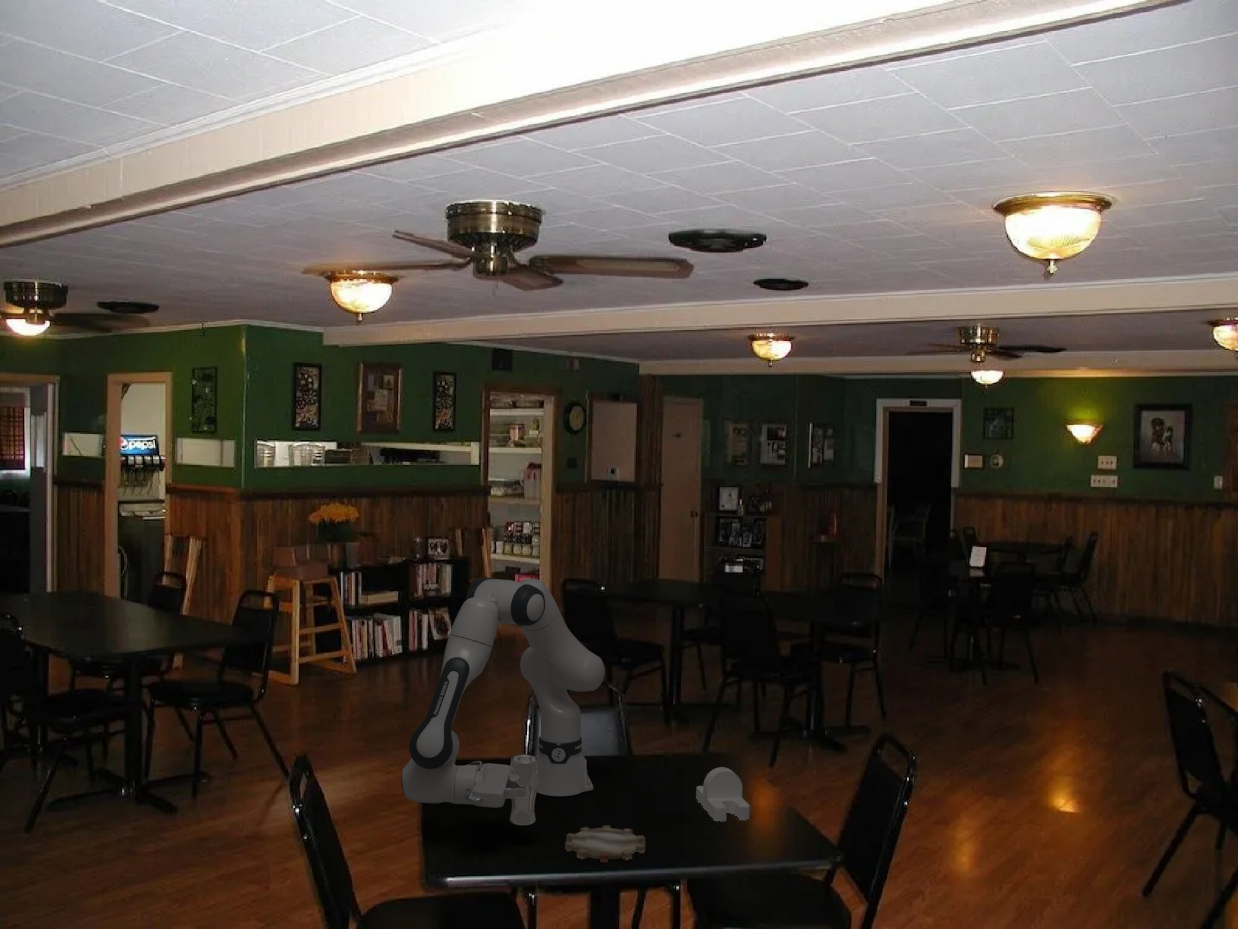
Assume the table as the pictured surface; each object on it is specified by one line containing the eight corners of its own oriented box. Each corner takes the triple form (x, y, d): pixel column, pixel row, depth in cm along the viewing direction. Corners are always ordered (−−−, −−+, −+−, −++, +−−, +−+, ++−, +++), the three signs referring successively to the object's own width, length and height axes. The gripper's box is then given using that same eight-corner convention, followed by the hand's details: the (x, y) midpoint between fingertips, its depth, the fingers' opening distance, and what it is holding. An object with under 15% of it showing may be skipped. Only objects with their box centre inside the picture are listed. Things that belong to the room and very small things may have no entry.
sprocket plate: (568, 830, 272) (568, 824, 272) (644, 832, 272) (645, 826, 272) (562, 861, 253) (563, 854, 253) (645, 863, 253) (645, 857, 253)
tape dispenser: (715, 822, 281) (716, 781, 281) (695, 799, 299) (696, 760, 299) (750, 820, 283) (751, 779, 283) (728, 797, 301) (729, 758, 301)
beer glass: (502, 820, 263) (504, 758, 262) (524, 813, 268) (526, 752, 267) (520, 828, 258) (522, 765, 258) (543, 821, 263) (545, 759, 263)
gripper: (463, 786, 252) (523, 788, 252) (476, 758, 273) (531, 760, 273) (462, 813, 253) (522, 815, 253) (475, 783, 273) (531, 785, 273)
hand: (527, 786), depth 263 cm, fingers closed on beer glass, 6 cm apart
